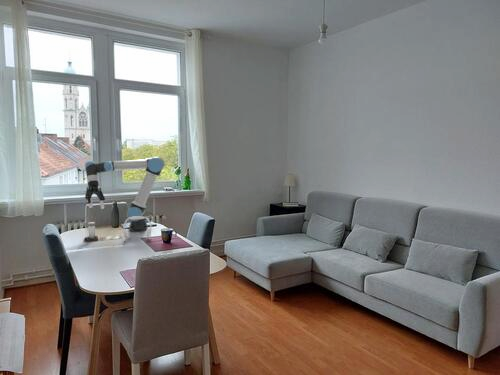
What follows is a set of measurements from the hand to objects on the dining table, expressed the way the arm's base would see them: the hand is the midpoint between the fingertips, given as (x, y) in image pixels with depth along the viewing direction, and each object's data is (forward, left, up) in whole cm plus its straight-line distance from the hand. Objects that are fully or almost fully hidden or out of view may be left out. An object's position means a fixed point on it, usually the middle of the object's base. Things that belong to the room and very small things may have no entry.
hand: (97, 208), depth 267 cm
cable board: (-2, +11, -23) cm, 26 cm away
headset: (-26, +20, -23) cm, 40 cm away
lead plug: (+5, +11, -21) cm, 25 cm away
